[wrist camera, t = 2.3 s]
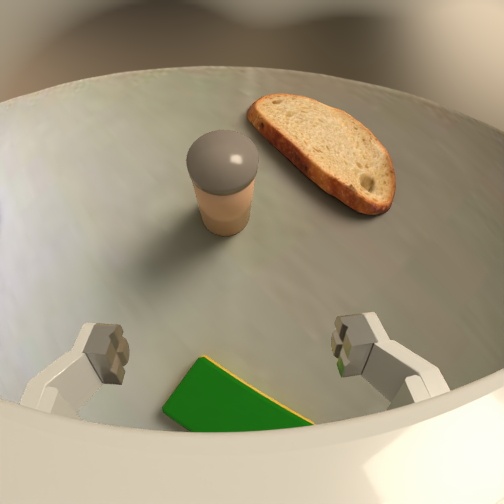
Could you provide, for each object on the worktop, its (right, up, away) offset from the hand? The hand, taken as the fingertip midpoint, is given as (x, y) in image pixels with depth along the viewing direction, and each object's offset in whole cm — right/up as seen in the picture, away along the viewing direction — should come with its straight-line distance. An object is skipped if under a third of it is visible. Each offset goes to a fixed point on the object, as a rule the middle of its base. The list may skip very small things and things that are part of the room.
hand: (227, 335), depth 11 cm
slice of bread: (+10, +15, +25) cm, 31 cm away
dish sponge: (0, -14, +17) cm, 22 cm away
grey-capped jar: (-2, +7, +21) cm, 23 cm away
